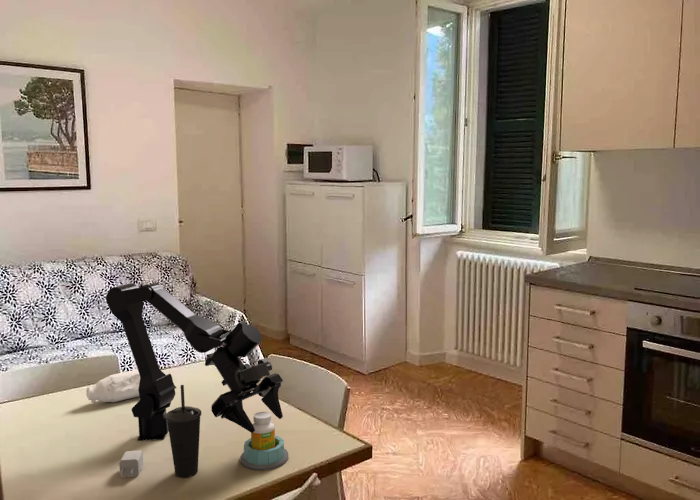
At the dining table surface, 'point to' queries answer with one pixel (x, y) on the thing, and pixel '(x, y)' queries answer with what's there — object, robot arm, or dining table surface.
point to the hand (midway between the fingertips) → (267, 424)
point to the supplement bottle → (263, 432)
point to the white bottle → (115, 387)
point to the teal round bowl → (264, 456)
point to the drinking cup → (184, 438)
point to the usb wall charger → (131, 463)
